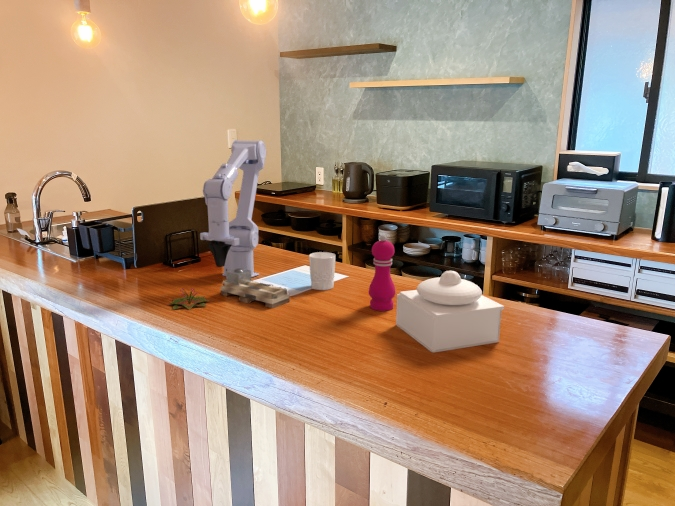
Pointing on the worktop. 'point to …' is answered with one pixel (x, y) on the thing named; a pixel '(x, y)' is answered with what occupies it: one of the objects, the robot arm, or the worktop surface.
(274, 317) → the worktop surface
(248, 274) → the block
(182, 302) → the green leafy spiky piece
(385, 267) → the pepper mill
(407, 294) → the butter dish
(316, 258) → the white cup
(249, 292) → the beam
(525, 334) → the worktop surface
